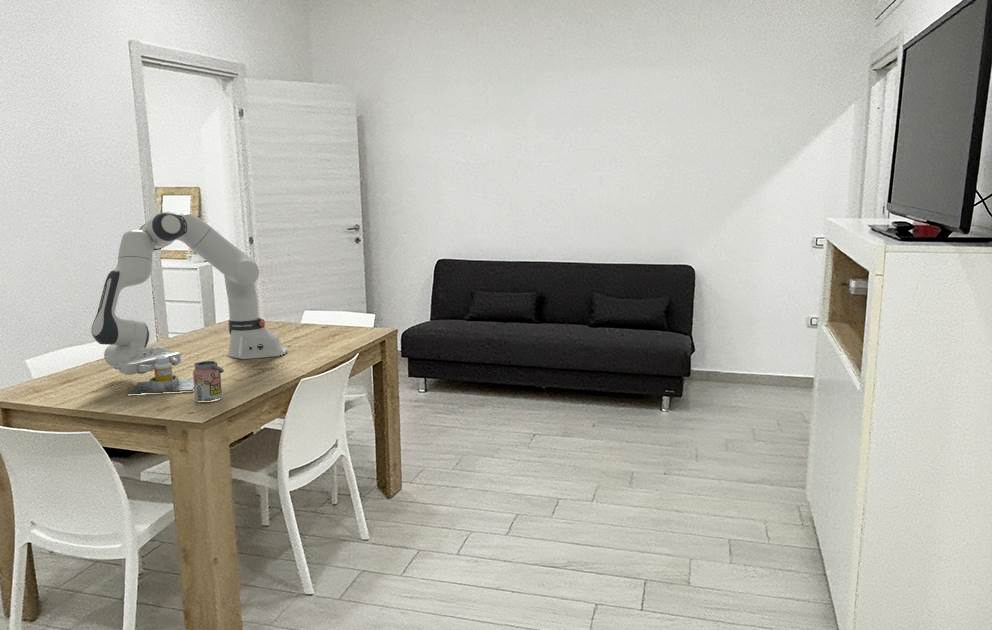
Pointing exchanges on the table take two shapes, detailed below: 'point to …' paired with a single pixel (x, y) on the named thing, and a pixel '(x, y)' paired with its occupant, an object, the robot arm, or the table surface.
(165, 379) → the supplement bottle
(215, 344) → the table surface
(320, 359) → the table surface
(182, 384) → the collar plate
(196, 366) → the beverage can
